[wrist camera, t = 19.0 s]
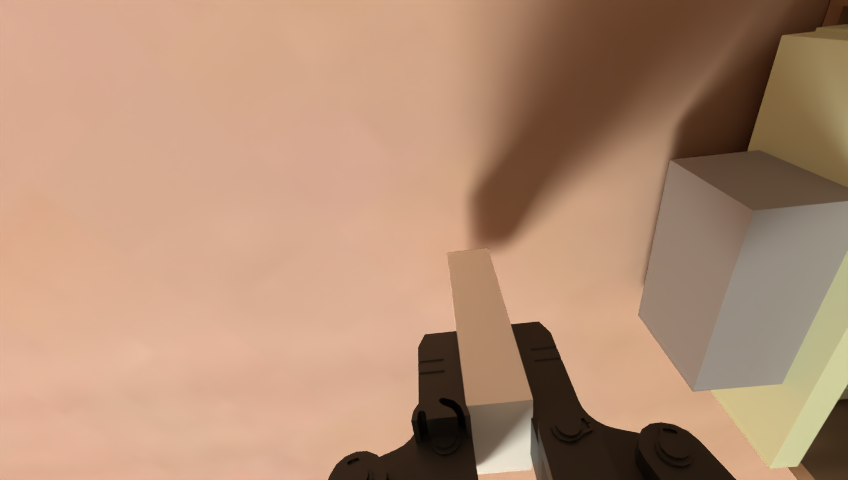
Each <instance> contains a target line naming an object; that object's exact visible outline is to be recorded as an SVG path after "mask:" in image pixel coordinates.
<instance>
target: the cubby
mask: <svg viewBox="0 0 848 480" xmlns="http://www.w3.org/2000/svg"><path fill="white" fill-rule="evenodd" d="M843 24H848V0H831V1H830V4H829V7H828V10H827V13H826V16H825V19H824V22H823V25H822V27H827V26H835V25H843ZM788 468H789V470H790V471H791V472H792V473H793V474H794V476H795V477H796V478H797V479H798V480H848V399H840V400H838V401H837V403H836V404H835V406H834V407H833V409H832V411H831V412H830V414H829V416H828V417H827V419H826V421H825V422H824V424H823V425H822V427H821V429H820V430H819V432H818V434H817V435H816V437H815V439H814V440H813V442H812V443H811V445H810V447H809V448H808V450H807V452H806V453H805V455H804V457H803V458H802V460H801V461H800V463H799V465H798V466H797V467H788Z"/></svg>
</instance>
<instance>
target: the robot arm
mask: <svg viewBox="0 0 848 480" xmlns="http://www.w3.org/2000/svg"><path fill="white" fill-rule="evenodd" d="M447 258H448V267H449V276H450V285H451V294H452V303H453V312H454V320H455V328H456V331H454V332H444V333H435V334H425V335H424V337H423V339H422V341H421V343H420V345H419V347H418V362H419V364H418V369H419V404H418V405H417V407H416V408H415V410H414V411H413V416H412V420H411V422H412V426H413V431H414V435H413V436H412V438H411V439H410V440H409V441H408V442H407V443H406V444H405V445H404V446H402V447H400V448H398V449H396V450H394V451H392V452H390V453H387V454H385V455H383V456H381V457H378V456H377V455H376V454H373V453H371V452H368V451H362V452H355V453H352V454H350V455H348V456H346V457H344V458H343V459H342V460H341V461H340V462H339V463H338V464H336V466H335V468H334V469H333V471H332V473H331V474H330V476H329V479H328V480H478V474H489V473H500V472H511V471H523V470H532V462H533V466H534V470H535V474H536V478H537V480H736V479H735V478H734V477H733V476H732V475H731V474H730V473H729V472H728V470H727V469H726V468H725V467H724V466H723V465H722V464H721V463H720V462H719V461H718V460H717V459H716V458H715V457H714V456H713V455H712V453H711V452H710V451H709V450H708V449H707V448H706V447H705V446H704V445H703V444H702V443H701V442H700V441H699V440H698V439H697V438H696V437H694V436H693V435H692V434H691V433H689V432H688V431H686V430H684V429H682V428H680V427H678V426H676V425H673V424H667V423H662V422H661V423H653V424H649V425H648V426H646V427H645V428H643V429H642V430H641V433H636V432H631V431H626V430H621V429H616V428H612V427H609V426H606V425H604V424H602V423H600V422H598V421H596V420H595V419H593V418H592V417H591V416H589V415H588V414H587V413H586V411H585V410H584V409H583V408H582V406H581V404H580V402H579V400H578V398H577V396H576V393H575V391H574V388H573V386H572V383H571V381H570V379H569V376H568V374H567V371H566V369H565V366H564V364H563V362H562V360H561V357H560V354H559V352H558V350H557V349H556V345H555V342H554V340H553V337H552V335H551V333H550V332H549V331H548V330H547V329H546V328H545V327H544V326H543V325H542V324H541V323H540V322H530V323H520V324H510V320H509V317H508V314H507V310H506V307H505V304H504V300H503V297H502V294H501V290H500V287H499V284H498V280H497V277H496V274H495V270H494V267H493V264H492V260H491V257H490V254H489V250H488V248H483V249H475V250H466V251H457V252H448V253H447Z"/></svg>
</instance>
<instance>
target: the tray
mask: <svg viewBox="0 0 848 480" xmlns="http://www.w3.org/2000/svg"><path fill="white" fill-rule="evenodd" d="M638 316H639V317H640V318H641V320H642V321H643V323H644V324H645V325H646V327H647V328H648V330H649V331H650V332H651V334H652V335H653V337H654V338H655V339H656V341H657V342H658V344H659V345H660V346H661V348H662V349H663V351H664V352H665V353H666V355H667V356H668V358H669V359H670V360H671V362H672V363H673V364H674V366H675V367H676V369H677V370H678V371H679V373H680V374H681V376H682V377H683V378H684V380H685V381H686V383H687V384H688V385H689V387H690V388H691V390H692V391H693V392H695V391H706V390H710V391H711V393H712V394H713V395H714V397H715V398H716V399H717V401H718V402H719V403H720V405H721V406H722V407H723V408H724V410H725V411H726V412H727V414H728V415H729V416H730V418H731V419H732V420H733V422H734V423H735V424H736V426H737V427H738V428H739V429H740V431H741V432H742V433H743V435H744V436H745V437H746V439H747V440H748V441H749V443H750V444H751V445H752V447H753V448H754V449H755V450H756V452H757V453H758V454H759V456H760V457H761V458H762V460H763V461H764V462H765V464H766V465H767V466H768V468H769V469H772V468H785V467H797V466H798V465H799V463H800V461H801V460H802V458H803V457H804V455H805V453H806V452H807V450H808V448H809V447H810V445H811V443H812V442H813V440H814V439H815V437H816V435H817V434H818V432H819V430H820V429H821V427H822V425H823V424H824V422H825V421H826V419H827V417H828V416H829V414H830V412H831V411H832V409H833V407H834V406H835V404H836V403H837V401H838V400H840V399H848V24H843V25H835V26H827V27H818V28H816V31H814V32H806V33H797V34H789V35H782V37H781V40H780V44H779V47H778V50H777V54H776V57H775V60H774V64H773V67H772V70H771V74H770V77H769V80H768V84H767V87H766V90H765V94H764V97H763V100H762V104H761V107H760V110H759V114H758V117H757V120H756V123H755V127H754V130H753V133H752V137H751V140H750V143H749V147H748V150H747V151H746V152H736V153H727V154H718V155H709V156H699V157H690V158H681V159H672V160H670V162H669V167H668V172H667V176H666V181H665V186H664V191H663V196H662V201H661V206H660V211H659V216H658V220H657V225H656V230H655V235H654V240H653V245H652V250H651V255H650V260H649V264H648V269H647V274H646V279H645V284H644V289H643V294H642V299H641V304H640V309H639V313H638Z"/></svg>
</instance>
